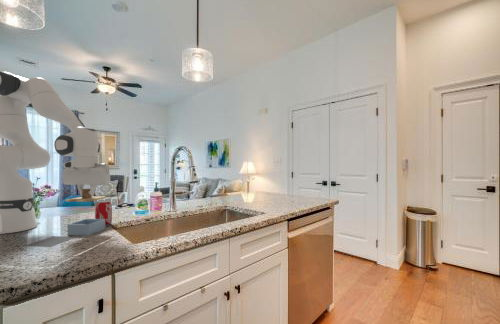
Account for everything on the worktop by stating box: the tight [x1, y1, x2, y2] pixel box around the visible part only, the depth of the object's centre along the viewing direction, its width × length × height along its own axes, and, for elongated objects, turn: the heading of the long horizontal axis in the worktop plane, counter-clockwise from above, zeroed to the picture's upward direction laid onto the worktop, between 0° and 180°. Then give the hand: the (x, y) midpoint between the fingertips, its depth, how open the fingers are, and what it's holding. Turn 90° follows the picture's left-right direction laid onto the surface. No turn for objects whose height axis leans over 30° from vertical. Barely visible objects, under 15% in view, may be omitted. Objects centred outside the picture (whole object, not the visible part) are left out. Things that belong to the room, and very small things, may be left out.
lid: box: [65, 188, 107, 203], centre depth 102 cm, size 10×10×5 cm
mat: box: [24, 235, 77, 248], centre depth 90 cm, size 11×11×1 cm
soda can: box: [94, 199, 113, 227], centre depth 114 cm, size 7×7×12 cm
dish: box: [67, 218, 106, 236], centre depth 102 cm, size 10×10×5 cm
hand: (86, 194), depth 102 cm, fingers closed on lid, 2 cm apart
